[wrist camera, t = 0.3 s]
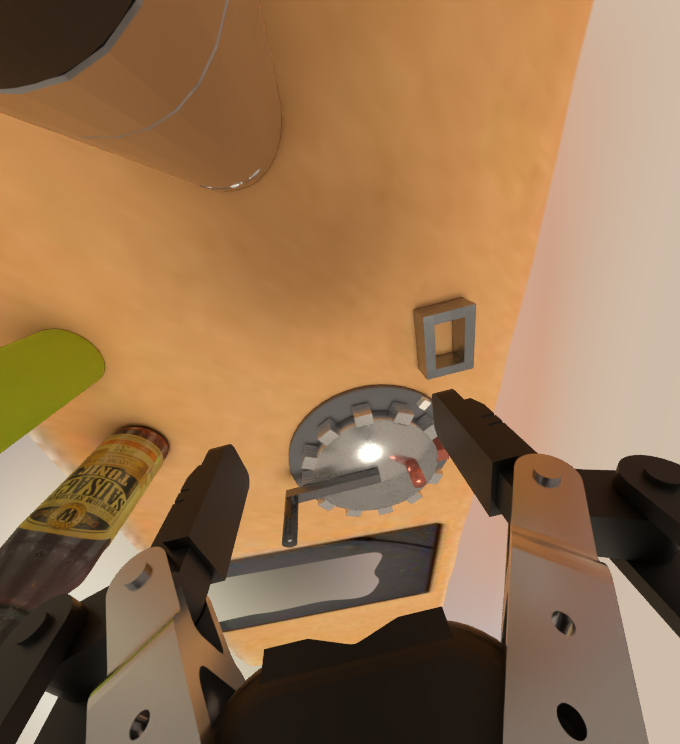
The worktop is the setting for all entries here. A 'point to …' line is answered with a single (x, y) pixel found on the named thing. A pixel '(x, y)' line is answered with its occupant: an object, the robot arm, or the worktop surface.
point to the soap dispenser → (42, 379)
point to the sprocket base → (341, 410)
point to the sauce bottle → (76, 523)
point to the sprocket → (366, 464)
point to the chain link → (463, 337)
